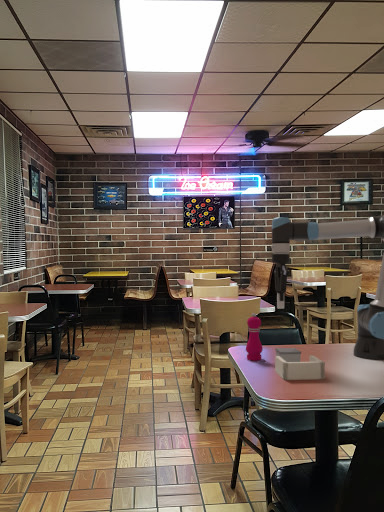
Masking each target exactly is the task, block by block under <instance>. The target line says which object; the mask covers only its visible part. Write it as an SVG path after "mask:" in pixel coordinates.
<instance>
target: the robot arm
mask: <svg viewBox="0 0 384 512" xmlns="http://www.w3.org/2000/svg"><path fill="white" fill-rule="evenodd" d="M361 237H369V238H371V239H382V241H383V242H384V214H382V215H378V216H370V217H369V218H368V219H367V218H366V219H357V220H343V221H331V222H330V221H329V222H319V223H317V222H313V221H307V222H306V221H302V222H301V221H299V222H293V221H290V218H289V217H283V216H281V217H274V218H273V219H272V221H271V245H270V248H271V253H272V254H271V262H272V263H275V268H274V269H273V274H274V285H275V286H274V287H275V292H276V294H277V295H276V301H277V302H276V309H279V310H280V309H282V310H283V309H285V293H287V283H288V282H287V281H288V274H289V270H288V269H287V267H286V265H287V264H288V263H290V262H291V261H290V259H291V257H290V254H289V253H290V252H291V250H290V249H291V243H290V242H291V241H293V240H294V241H295V242H300V243H301V242H307V241H309V242H310V241H317V240H318V241H320V240H334V239H335V240H336V239H346V238H347V239H348V238H361ZM286 263H287V264H286ZM356 314H357V315H356V316H357V319H356V320H357V339H356V342H355V344H354V346H353V355H354V356H355V357H357V358H361V359H367V360H368V359H369V360H384V253H383V254H382V260H381V266H380V271H379V274H378V280H377V286H376V291H375V296H374V299H373V301H371V302H370V303H369V304H359V305H358V306H357V311H356Z"/></svg>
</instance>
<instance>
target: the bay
mask: <svg viewBox="0 0 384 512" xmlns="http://www.w3.org/2000/svg"><path fill="white" fill-rule="evenodd" d="M274 363H275V364H274V367H275V368H274V369H275V371H274V372H275V373H276V374H277V375H278V376H279V377H280V378H281V379H283V381H298V380H300V381H301V380H305V381H307V380H325V378H326V376H325V375H326V373H325V372H326V371H325V365H326V364H325V362H324V361H323V360H321V359H320V358H318V357H316V356H315V355H314V354H312V355H311V354H310V355H309V359H308V361H300V362H286V361H285V360H284V359H282V358H281V357H280V356H276V355H275V357H274Z"/></svg>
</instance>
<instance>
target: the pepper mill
mask: <svg viewBox="0 0 384 512" xmlns="http://www.w3.org/2000/svg"><path fill="white" fill-rule="evenodd" d="M246 322H247V323H246V324H247V326H248V333H249V337H248V341H247V343H246V345H245V352H246V353H247V354H246V359H247V360H248V361H254V362H257V361H261V360H262V352H263V345H262V342H261V339H260V336H259V335H260V332H261V330H260V329H261V328H260V327H261V325H262V320H261V318H259V317H258V316H257V313H255V312H253V313H252V314H251V316H250V317H249V318H248V319H247V321H246Z"/></svg>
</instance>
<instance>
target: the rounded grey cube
mask: <svg viewBox="0 0 384 512" xmlns="http://www.w3.org/2000/svg"><path fill="white" fill-rule="evenodd" d="M274 351H275V356H280V357H281V358H282V359H284V360H285V361H286V362H301V354H302V351H300V349H297V348H296V347H285V348H284V347H282V348H281V347H279V348H278V347H276V348H275V350H274Z"/></svg>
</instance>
